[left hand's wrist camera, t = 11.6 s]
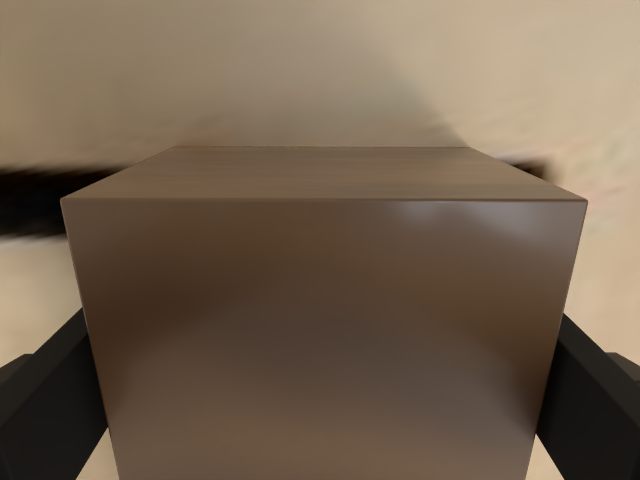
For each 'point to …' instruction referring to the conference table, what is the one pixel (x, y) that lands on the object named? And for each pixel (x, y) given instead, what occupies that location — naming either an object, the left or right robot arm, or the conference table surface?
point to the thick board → (323, 311)
